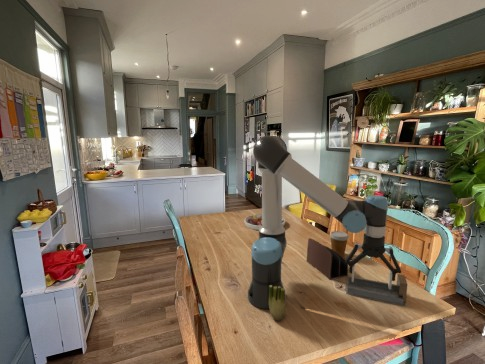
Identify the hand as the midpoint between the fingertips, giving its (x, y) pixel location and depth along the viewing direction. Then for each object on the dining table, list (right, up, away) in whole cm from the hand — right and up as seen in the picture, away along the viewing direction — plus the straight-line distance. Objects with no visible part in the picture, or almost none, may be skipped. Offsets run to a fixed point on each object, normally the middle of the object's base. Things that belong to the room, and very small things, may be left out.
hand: (370, 283), depth 106 cm
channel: (+1, -4, 0) cm, 4 cm away
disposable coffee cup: (0, +2, +36) cm, 36 cm away
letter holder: (-12, -1, +21) cm, 24 cm away
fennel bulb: (-40, -7, -13) cm, 42 cm away
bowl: (-36, +9, +85) cm, 93 cm away
